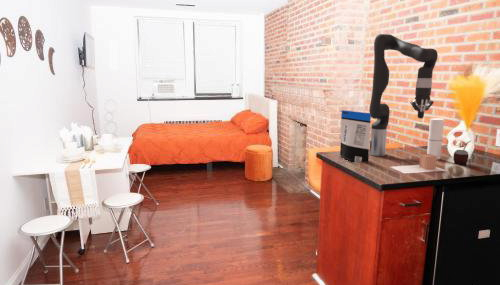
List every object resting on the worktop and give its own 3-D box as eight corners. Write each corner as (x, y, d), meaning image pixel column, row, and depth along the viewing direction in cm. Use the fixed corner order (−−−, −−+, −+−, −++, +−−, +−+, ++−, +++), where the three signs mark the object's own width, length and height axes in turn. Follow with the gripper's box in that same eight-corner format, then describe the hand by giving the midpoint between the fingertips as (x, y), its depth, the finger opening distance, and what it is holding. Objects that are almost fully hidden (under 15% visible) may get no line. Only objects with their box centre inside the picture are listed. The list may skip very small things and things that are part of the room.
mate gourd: (453, 162, 190) (456, 137, 187) (469, 164, 185) (472, 138, 182) (451, 165, 184) (454, 139, 181) (468, 167, 179) (471, 140, 176)
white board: (403, 176, 165) (403, 173, 165) (389, 169, 178) (389, 166, 178) (445, 173, 169) (446, 170, 169) (428, 166, 181) (429, 164, 181)
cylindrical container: (425, 160, 195) (428, 119, 190) (428, 158, 200) (431, 118, 195) (438, 162, 190) (442, 120, 185) (441, 159, 195) (445, 118, 190)
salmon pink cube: (426, 169, 171) (427, 156, 170) (419, 166, 176) (420, 154, 175) (435, 168, 172) (437, 156, 170) (428, 166, 177) (429, 153, 176)
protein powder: (362, 165, 186) (364, 114, 181) (334, 157, 208) (335, 110, 202) (374, 163, 190) (377, 112, 184) (345, 155, 212) (347, 109, 206)
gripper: (430, 86, 180) (426, 117, 184) (408, 86, 178) (405, 117, 182) (439, 86, 173) (435, 118, 177) (417, 87, 171) (413, 119, 175)
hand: (420, 118), depth 180 cm, fingers closed
